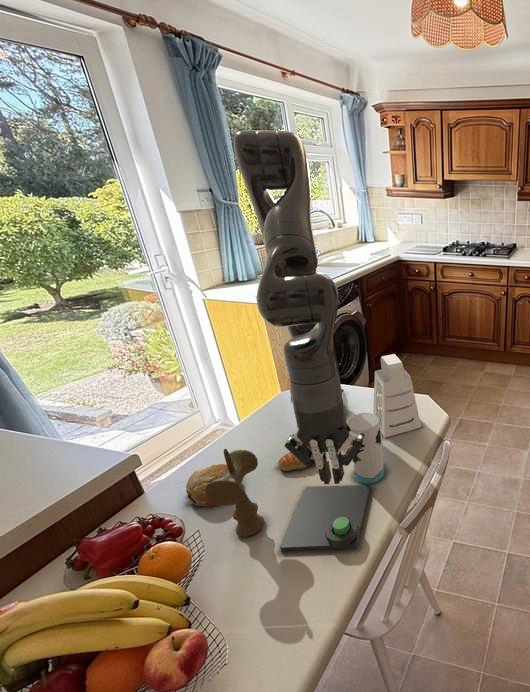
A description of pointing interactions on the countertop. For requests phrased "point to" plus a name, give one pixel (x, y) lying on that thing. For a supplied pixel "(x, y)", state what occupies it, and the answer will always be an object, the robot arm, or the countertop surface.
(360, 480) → the cup
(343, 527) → the tare button
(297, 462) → the pastry
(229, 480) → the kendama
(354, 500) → the scale
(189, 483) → the bread roll
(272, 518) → the countertop surface
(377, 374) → the grater
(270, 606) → the countertop surface
